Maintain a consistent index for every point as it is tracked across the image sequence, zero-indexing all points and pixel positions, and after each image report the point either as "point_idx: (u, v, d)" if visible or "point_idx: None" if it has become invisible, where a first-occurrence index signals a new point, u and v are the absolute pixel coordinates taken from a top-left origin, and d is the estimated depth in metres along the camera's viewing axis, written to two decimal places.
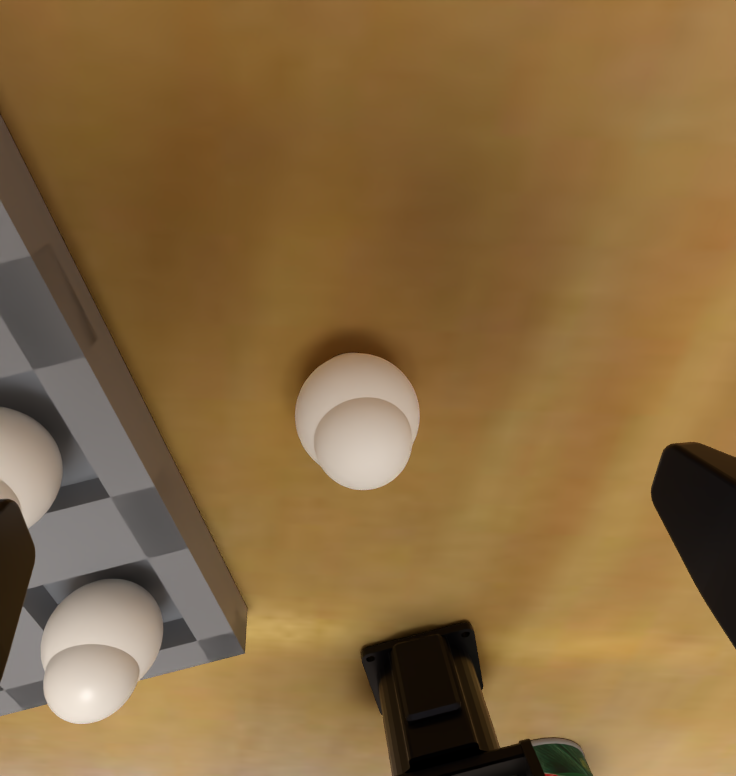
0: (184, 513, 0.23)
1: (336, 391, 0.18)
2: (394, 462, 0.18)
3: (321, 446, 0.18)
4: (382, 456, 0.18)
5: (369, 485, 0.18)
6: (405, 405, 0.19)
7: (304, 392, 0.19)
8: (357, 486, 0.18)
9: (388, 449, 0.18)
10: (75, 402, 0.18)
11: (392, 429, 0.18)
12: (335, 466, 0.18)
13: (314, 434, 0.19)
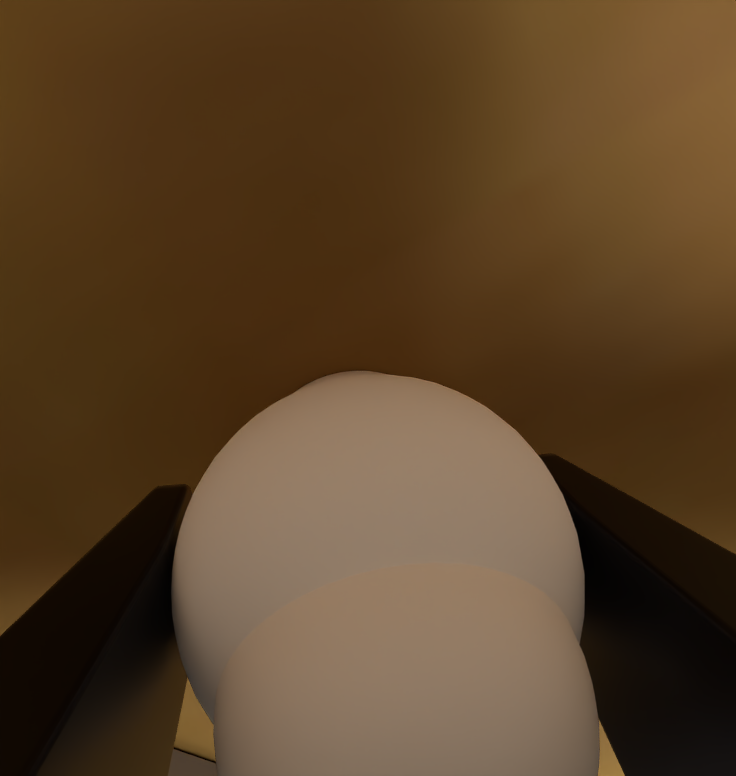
0: None
1: (208, 607, 0.05)
2: None
3: None
4: None
5: None
6: (479, 531, 0.05)
7: None
8: None
9: None
10: None
11: (454, 723, 0.04)
12: None
13: None
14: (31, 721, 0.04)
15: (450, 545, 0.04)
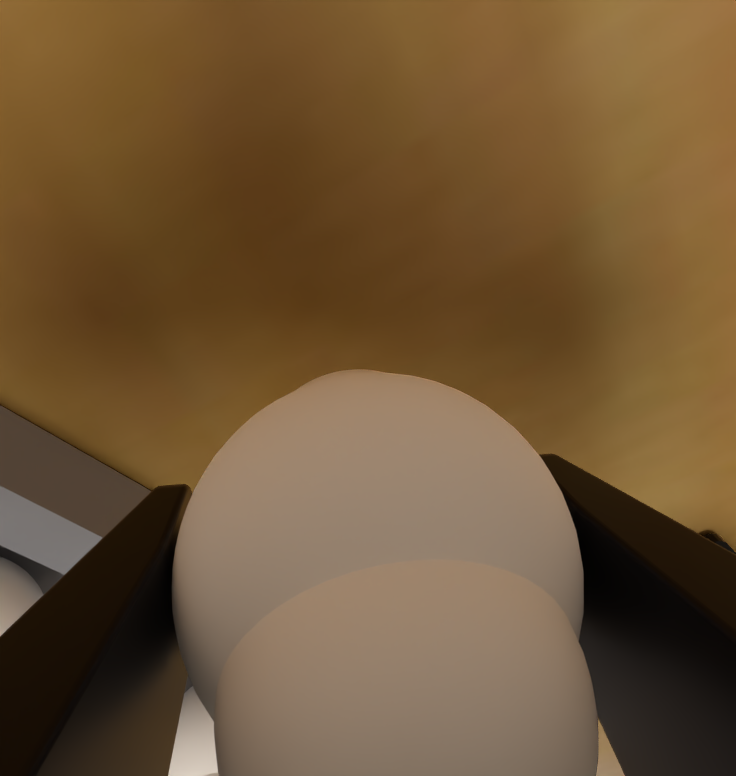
0: None
1: (209, 603, 0.05)
2: None
3: None
4: None
5: None
6: (479, 528, 0.05)
7: None
8: None
9: None
10: None
11: (454, 718, 0.04)
12: None
13: None
14: (31, 721, 0.04)
15: (450, 542, 0.04)
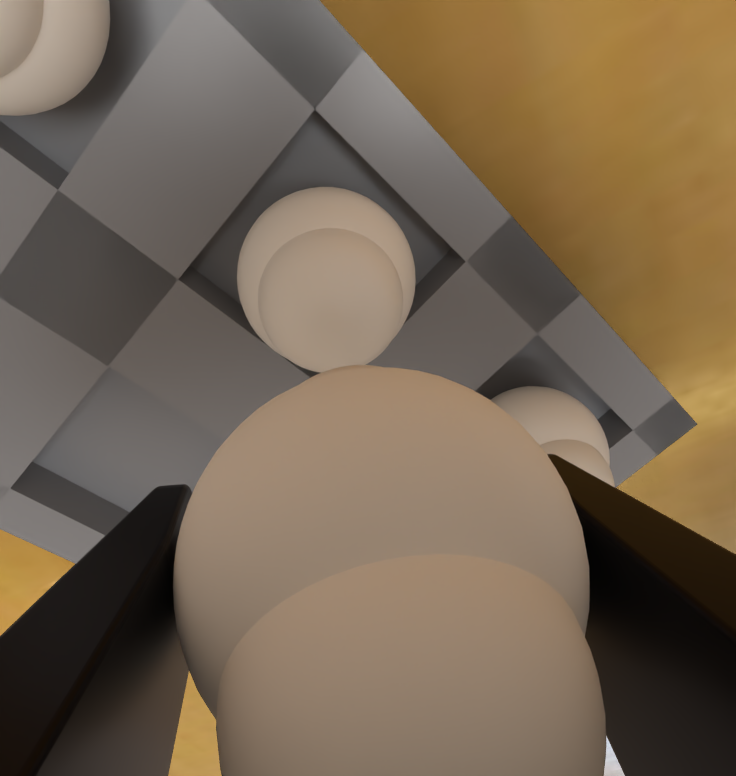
0: None
1: (211, 599, 0.05)
2: None
3: None
4: None
5: None
6: (485, 523, 0.05)
7: None
8: None
9: None
10: (377, 133, 0.14)
11: (461, 714, 0.04)
12: None
13: None
14: (31, 721, 0.04)
15: (455, 537, 0.04)
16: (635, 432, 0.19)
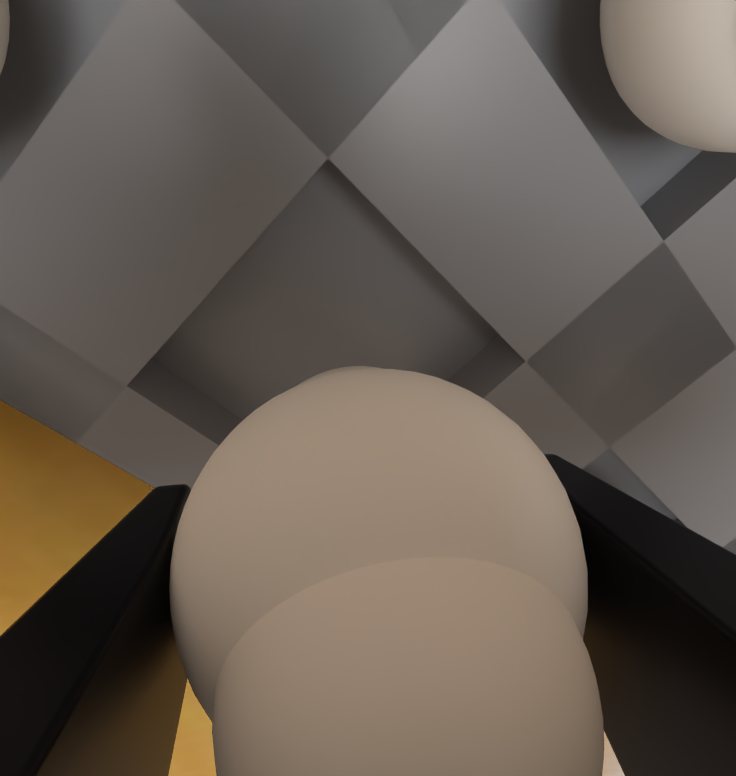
0: None
1: (207, 602, 0.05)
2: None
3: None
4: None
5: None
6: (482, 526, 0.05)
7: None
8: None
9: None
10: None
11: (457, 719, 0.04)
12: None
13: None
14: (31, 721, 0.04)
15: (452, 539, 0.04)
16: None
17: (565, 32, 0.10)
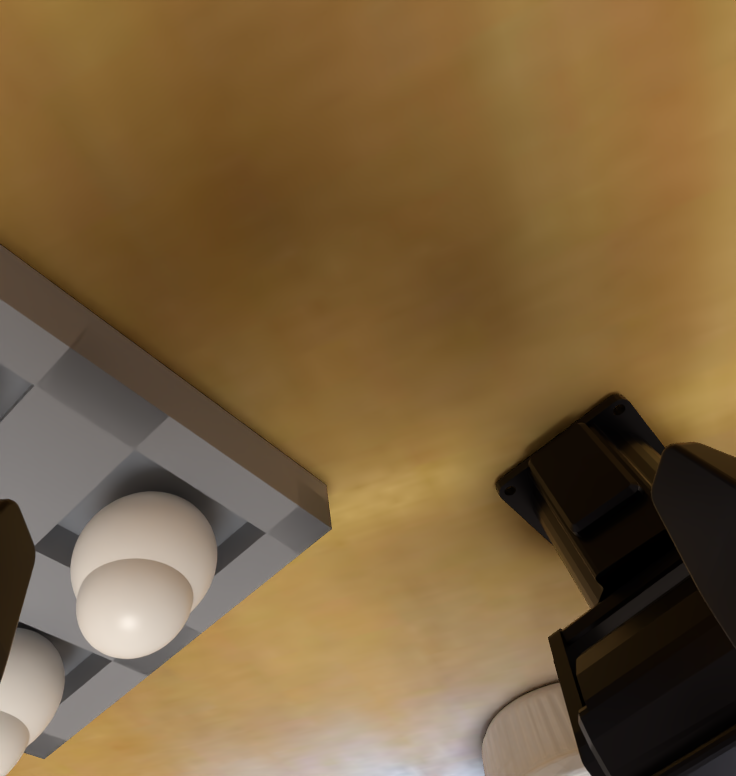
0: (152, 381, 0.18)
1: None
2: None
3: None
4: None
5: None
6: None
7: None
8: None
9: None
10: None
11: None
12: None
13: None
14: None
15: None
16: (269, 535, 0.20)
17: None
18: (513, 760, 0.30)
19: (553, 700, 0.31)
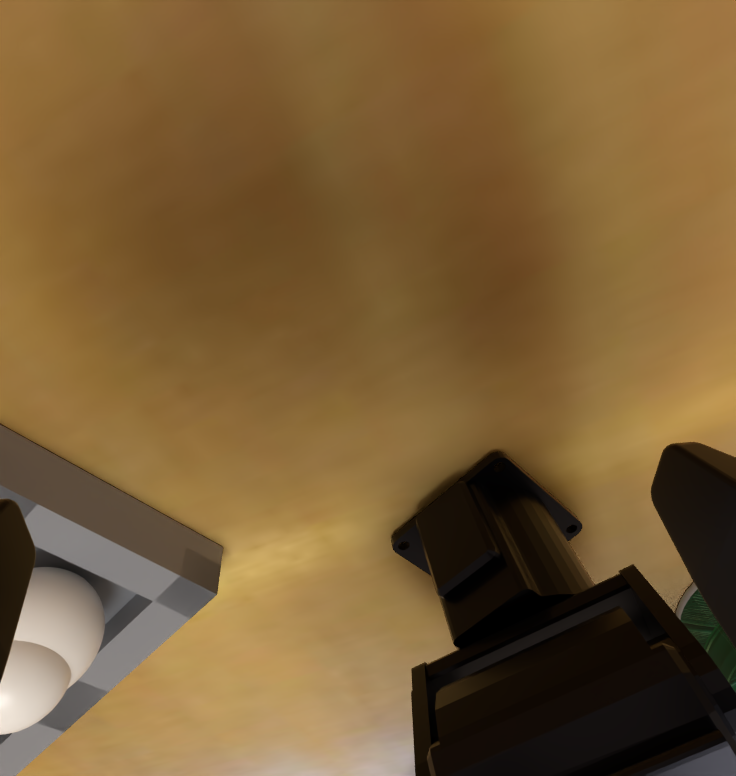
0: (26, 469, 0.19)
1: None
2: None
3: None
4: None
5: None
6: None
7: None
8: None
9: None
10: None
11: None
12: None
13: None
14: None
15: None
16: (156, 602, 0.21)
17: None
18: None
19: None
